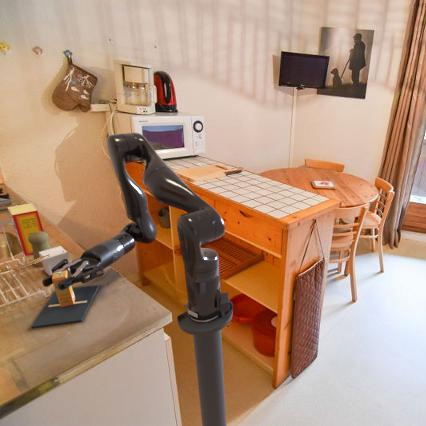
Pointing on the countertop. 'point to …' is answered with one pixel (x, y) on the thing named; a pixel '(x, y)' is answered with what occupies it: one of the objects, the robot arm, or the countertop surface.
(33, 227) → the baking soda box
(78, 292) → the slate mat
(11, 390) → the countertop surface
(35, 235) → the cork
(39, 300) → the countertop surface
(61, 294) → the supplement box
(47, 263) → the product carton
